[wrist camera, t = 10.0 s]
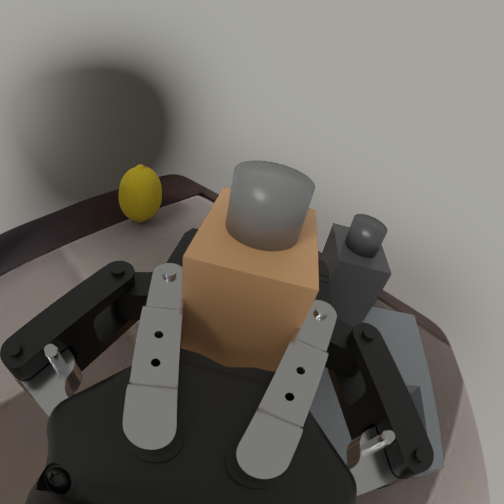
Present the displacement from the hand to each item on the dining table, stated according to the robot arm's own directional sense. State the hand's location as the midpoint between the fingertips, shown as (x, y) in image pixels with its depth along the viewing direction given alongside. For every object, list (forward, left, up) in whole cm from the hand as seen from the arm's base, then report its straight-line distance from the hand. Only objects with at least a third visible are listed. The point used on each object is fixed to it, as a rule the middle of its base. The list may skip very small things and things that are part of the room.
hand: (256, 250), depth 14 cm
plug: (-1, -2, -8) cm, 8 cm away
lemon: (-7, +23, -13) cm, 27 cm away
